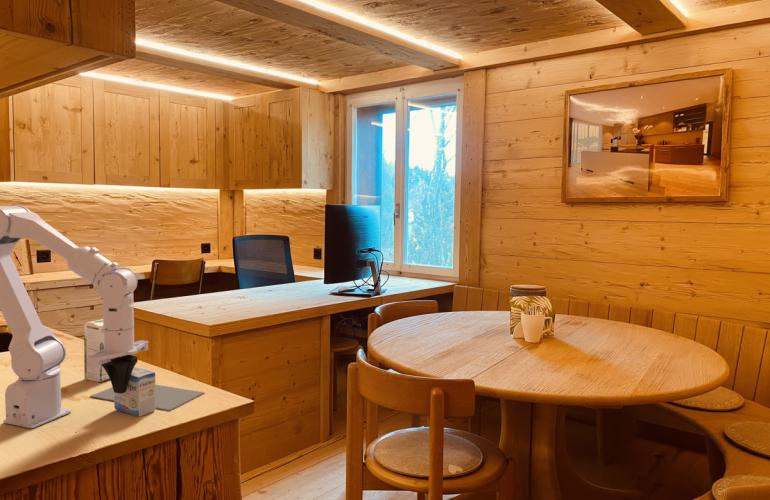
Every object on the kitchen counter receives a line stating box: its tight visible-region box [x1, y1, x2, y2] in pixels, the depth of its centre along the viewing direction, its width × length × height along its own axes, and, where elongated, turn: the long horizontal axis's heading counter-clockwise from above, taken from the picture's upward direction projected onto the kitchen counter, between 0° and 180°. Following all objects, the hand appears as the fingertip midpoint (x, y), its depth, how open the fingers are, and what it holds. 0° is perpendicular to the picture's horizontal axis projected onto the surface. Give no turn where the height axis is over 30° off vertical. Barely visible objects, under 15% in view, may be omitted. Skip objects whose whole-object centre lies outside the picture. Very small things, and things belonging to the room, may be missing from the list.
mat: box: [89, 384, 205, 412], centre depth 133 cm, size 12×22×1 cm, turn 71°
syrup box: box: [83, 318, 110, 383], centre depth 144 cm, size 6×6×14 cm
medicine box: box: [113, 366, 157, 417], centre depth 123 cm, size 8×4×9 cm, turn 63°
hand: (120, 392), depth 119 cm, fingers closed
